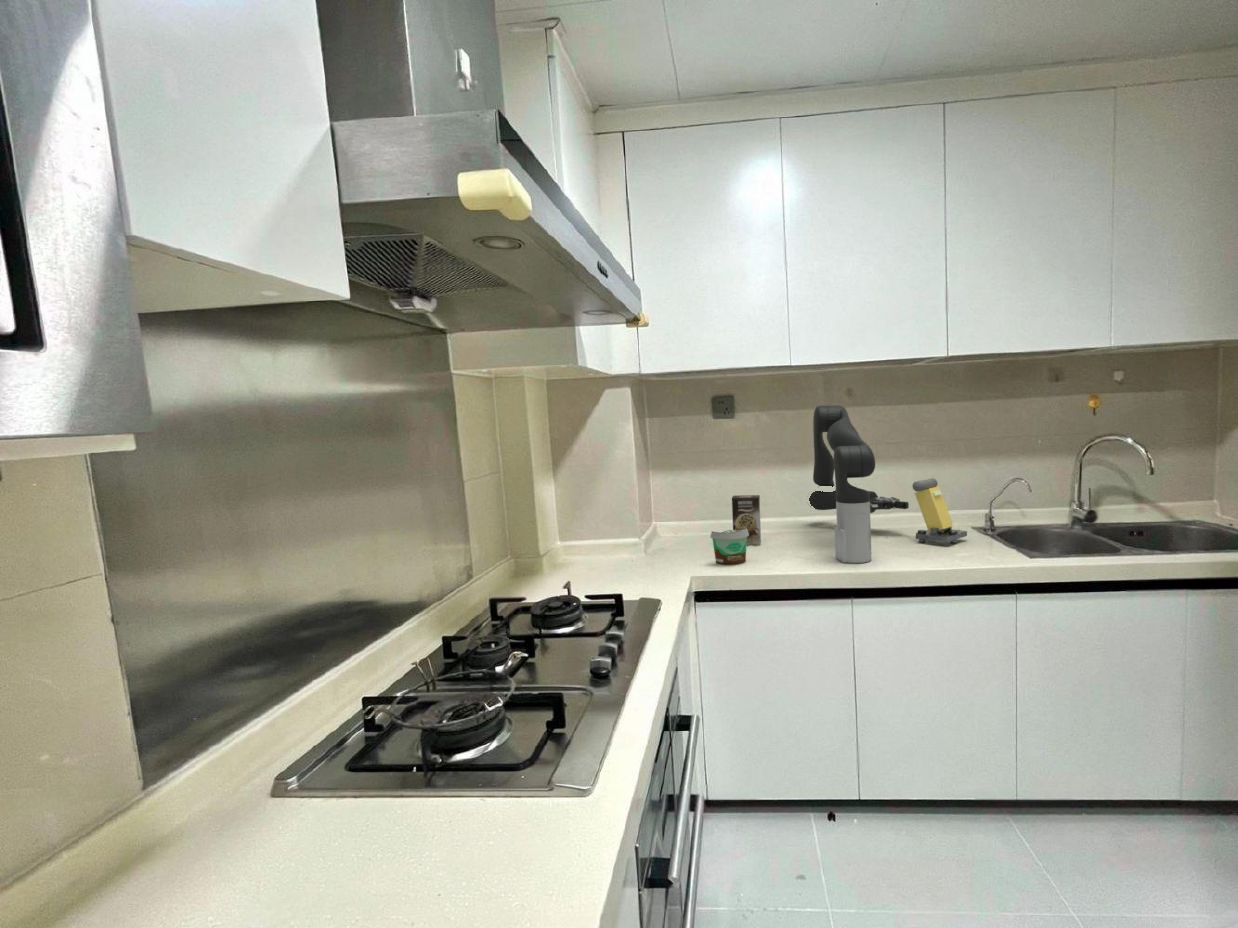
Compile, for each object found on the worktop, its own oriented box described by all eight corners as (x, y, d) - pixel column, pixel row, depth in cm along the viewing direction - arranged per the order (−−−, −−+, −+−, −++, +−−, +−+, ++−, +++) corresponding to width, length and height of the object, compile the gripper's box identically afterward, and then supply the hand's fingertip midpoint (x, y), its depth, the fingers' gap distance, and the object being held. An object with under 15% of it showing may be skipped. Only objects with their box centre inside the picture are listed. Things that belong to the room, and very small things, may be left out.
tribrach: (947, 547, 201) (946, 531, 200) (915, 542, 209) (915, 527, 208) (967, 540, 208) (966, 524, 207) (936, 536, 216) (935, 521, 215)
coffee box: (733, 545, 221) (730, 497, 219) (734, 541, 227) (732, 495, 225) (761, 545, 218) (759, 497, 217) (761, 541, 225) (759, 494, 223)
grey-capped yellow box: (943, 531, 203) (924, 478, 206) (927, 535, 207) (908, 483, 210) (958, 526, 208) (939, 475, 211) (942, 530, 212) (923, 480, 216)
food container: (722, 568, 193) (720, 534, 192) (711, 564, 198) (710, 531, 197) (758, 562, 197) (756, 529, 196) (746, 558, 203) (745, 526, 202)
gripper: (848, 492, 226) (895, 496, 212) (871, 488, 234) (918, 491, 220) (849, 514, 227) (896, 520, 213) (872, 509, 234) (918, 514, 220)
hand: (907, 505), depth 216 cm, fingers closed
